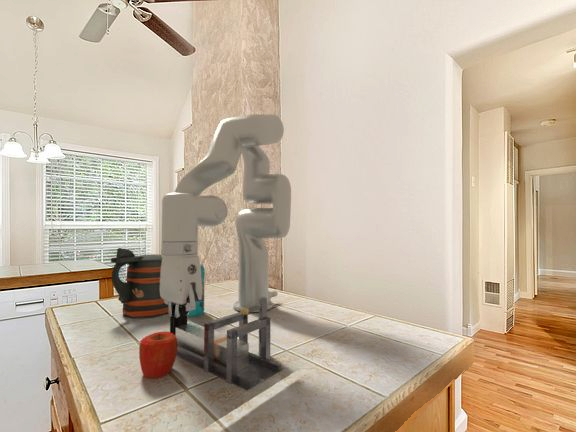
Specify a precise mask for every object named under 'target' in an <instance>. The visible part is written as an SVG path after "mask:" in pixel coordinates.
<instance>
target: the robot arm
mask: <svg viewBox="0 0 576 432" xmlns="http://www.w3.org/2000/svg"><path fill="white" fill-rule="evenodd" d="M216 127H217V128H216V130H215V132H214V134H213V137H212V139H211V142H210V145H209V147H208V150H207V152H206V154H205V156H204V158H203V159H202V160H200V161H199V162H198V163H197V164H196V165H195V166H193V167H192V168H191V169H190V170H189V171H188V172H187V173H186V174H184V176H183V177H182V178H181V179H180V180H179V182H178V184H177V185H176V188H175V190H174V192H169V193H165V194H164V195H163V197H162V200H161V245H160V246H161V248H160V249H161V251H160V253H161V254H160V255H161V257H162V263H161V272H160V296H161V298H162V299H164V303H165V304H167V305H168V307H169V313H168V316H169V319H170V320H169V332H171V333H173V334H174V335H175V336H176V327H179V326H182V325H186V324H188V316H187V315H189V311H190V310H195V309H196V305H195V301H200V300H201V299H202V277H201V266H200V264H201V261H200V257H199V255H198V253H199V252H198V250H199V249H198V247H199V246H198V241H199V227H201V228H202V227H205V228H206V227H207V228H208V227H216V226H219V225H222V223H223V222H225V220H226V218H227V217H228V206H227V204H226V202H225V201H224V199H222V198H221V197H219V196H216V195H208V194H207V195H201V194H202V193H203V192H205V190H206V189H208V188H209V187H211V186H212V185H215V184H218V183H219V182H222V181H224V180H225V179H227V178H229V177H230V176H232V175H233V174H234V173H235V172H236V170H237V167H238V163H239V160H240V158H241V157H242V159H243V174H242V175H243V178H242V198H243V200H244V202H245V203H247V204H249V205H272V207H250V208H245V209H242V210H240V211H239V212H238V213H237V215H236V217H235V228H236V235H237V243H238V244H237V245H238V301H235V302H234V303H233V309H234V311H237V312H241V308H248V307H252V306H255V305H258V304H259V298H260V297H267V311H270V310H271V309H273V308H274V302H273V300H272V301H271V299H272V298H276V297H277V296H278V292H277V290H273V291H270V290H269V249H268V247H267V245H266V243H265V241H264V240H263V239H282V238H283V239H284V238H286V236H288V233H289V232H290V227H291V211H292V209H291V208H292V206H291V205H292V187H291V183H290V179H289V178H288V176H286V175H285V174H283V173H271V172H270V170H271V169H270V167H271V166H270V165H271V163H270V158H269V157H268V155H267V154H266V152H265V151H264V150H263V149H262V147H260V146H267V145H273V144H277V143H279V142H280V141H281V140H282V138H283V136H284V130H285V127H284V124H283V121H282V119H281V118H280V117H279V116H278V115H276V114H259V113H256V114H255V113H253V114H245V115H239V116H233V117H227V118H224V119H223V120H221V121H220V123H218V126H216ZM251 313H259V310H255V311H252V312H251Z"/></svg>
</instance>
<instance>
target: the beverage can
mask: <svg viewBox="0 0 576 432" xmlns="http://www.w3.org/2000/svg"><path fill="white" fill-rule="evenodd" d="M200 266H201V277H202V299H201V300H200V301H195V305H196V309H195V310H190V311H189V315H187V318H188V317H193V318H194V317H199V316H202V315H203V314H204V312H205V268H204V263H200Z"/></svg>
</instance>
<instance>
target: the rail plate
mask: <svg viewBox="0 0 576 432" xmlns="http://www.w3.org/2000/svg"><path fill="white" fill-rule="evenodd" d="M177 357H178V358H180V359H182V360H184V361H185V362H187V363H190V364H192V365H194V366H196V367H198V368H200V369H202V370H204V357H202V356H200V355H197V354H195V353H193V352H191V351H188V350H186V349H184V348H182V347H180V346H177V355H176V358H177ZM284 369H285V368H284V367H282V364H281V363H279V362H276V361H274V360H271V359H270V360H269V359H263V358H261V356H259V354H255V353H253V352H250V351H249V366H246V367H244V368H242V369H240V370H238V371H237V375H236V381H235V382H233V383H232V384H233V385H235V386H237V387H239V388H241V389H243V390H244V391H245V390H246V391H249V390H251V389H252V388H254V387H255V386H257V385H260V384H261V383H263V382H264V381H266V380H268V379H269V378H271V377H272V376H275V375H276V374H278V373H279V372H281V371H283V370H284ZM209 373H210V374H211V375H215V376H217V377H219V378H220V379H223V380H224V381H226V378H227V367H224V366H222V365H220V364H218V363H215V362H214V364H213V366H212V371H210V372H209Z"/></svg>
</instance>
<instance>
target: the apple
mask: <svg viewBox="0 0 576 432" xmlns="http://www.w3.org/2000/svg"><path fill="white" fill-rule="evenodd" d="M138 349H139V352H138V353H139V355H138V356H139V365H140V368H141V369H140V370H141V372H142V375H143V377H144V378H147V379H152V380H153V379H154V380H155V379H159V378H162V377H165V376H167V375H168V374H169V373H171V371H172V369H173V367H174V365H175V361H176V359H177V356H176V355H177V338H176V336H175V335H174V334H173V333H171V332H170V331H157V332H153V333H151V334H148V335H146V336H145V337H143V338H142V339H141V340H140V342H139V346H138Z"/></svg>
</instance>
